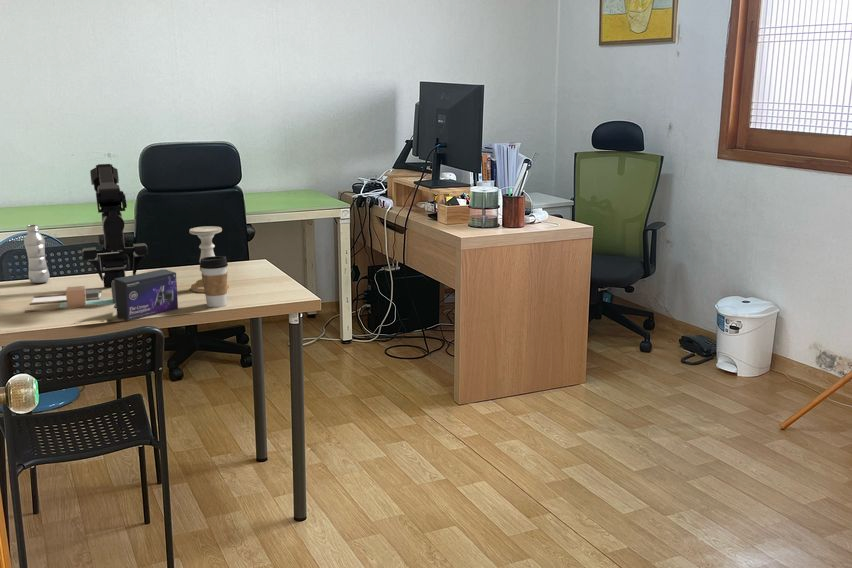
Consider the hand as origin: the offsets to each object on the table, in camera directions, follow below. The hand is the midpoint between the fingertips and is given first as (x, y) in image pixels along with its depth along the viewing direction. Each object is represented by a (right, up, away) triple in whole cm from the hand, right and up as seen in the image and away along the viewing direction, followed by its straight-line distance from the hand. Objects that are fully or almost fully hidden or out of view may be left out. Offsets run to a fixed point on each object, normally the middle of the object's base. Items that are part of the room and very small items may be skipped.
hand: (118, 278), depth 256 cm
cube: (-12, -8, -2) cm, 14 cm away
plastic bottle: (-39, -1, +31) cm, 50 cm away
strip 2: (-7, -8, 0) cm, 11 cm away
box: (+12, -11, -8) cm, 18 cm away
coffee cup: (+30, -8, 0) cm, 31 cm away
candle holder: (+23, -3, +21) cm, 31 cm away
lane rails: (-17, -8, +2) cm, 19 cm away
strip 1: (-18, -7, +6) cm, 21 cm away
